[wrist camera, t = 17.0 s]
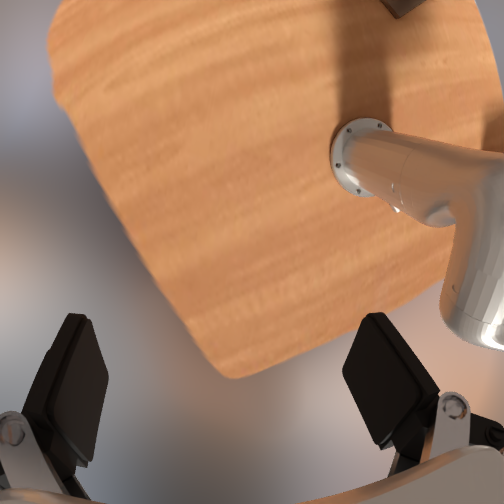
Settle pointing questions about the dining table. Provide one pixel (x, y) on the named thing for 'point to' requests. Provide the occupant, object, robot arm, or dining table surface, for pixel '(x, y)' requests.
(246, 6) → the dining table surface
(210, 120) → the dining table surface
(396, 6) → the collar base
